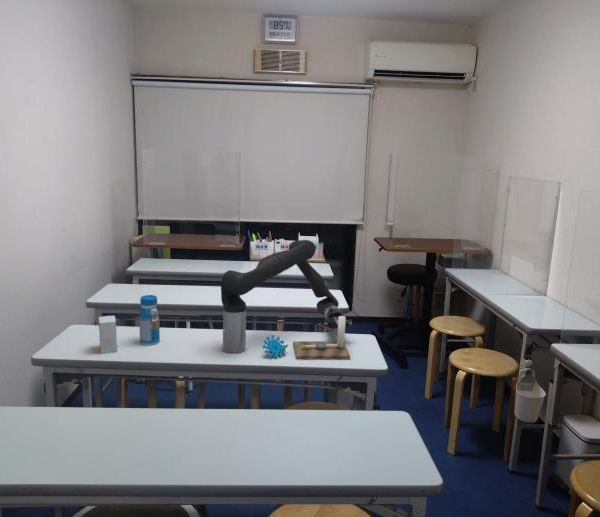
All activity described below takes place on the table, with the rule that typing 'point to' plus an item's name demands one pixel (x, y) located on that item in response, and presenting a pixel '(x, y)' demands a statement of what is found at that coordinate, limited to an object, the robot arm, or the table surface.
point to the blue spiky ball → (274, 346)
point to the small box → (107, 334)
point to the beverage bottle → (149, 320)
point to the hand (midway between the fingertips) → (342, 329)
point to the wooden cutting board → (319, 351)
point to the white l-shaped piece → (339, 337)
